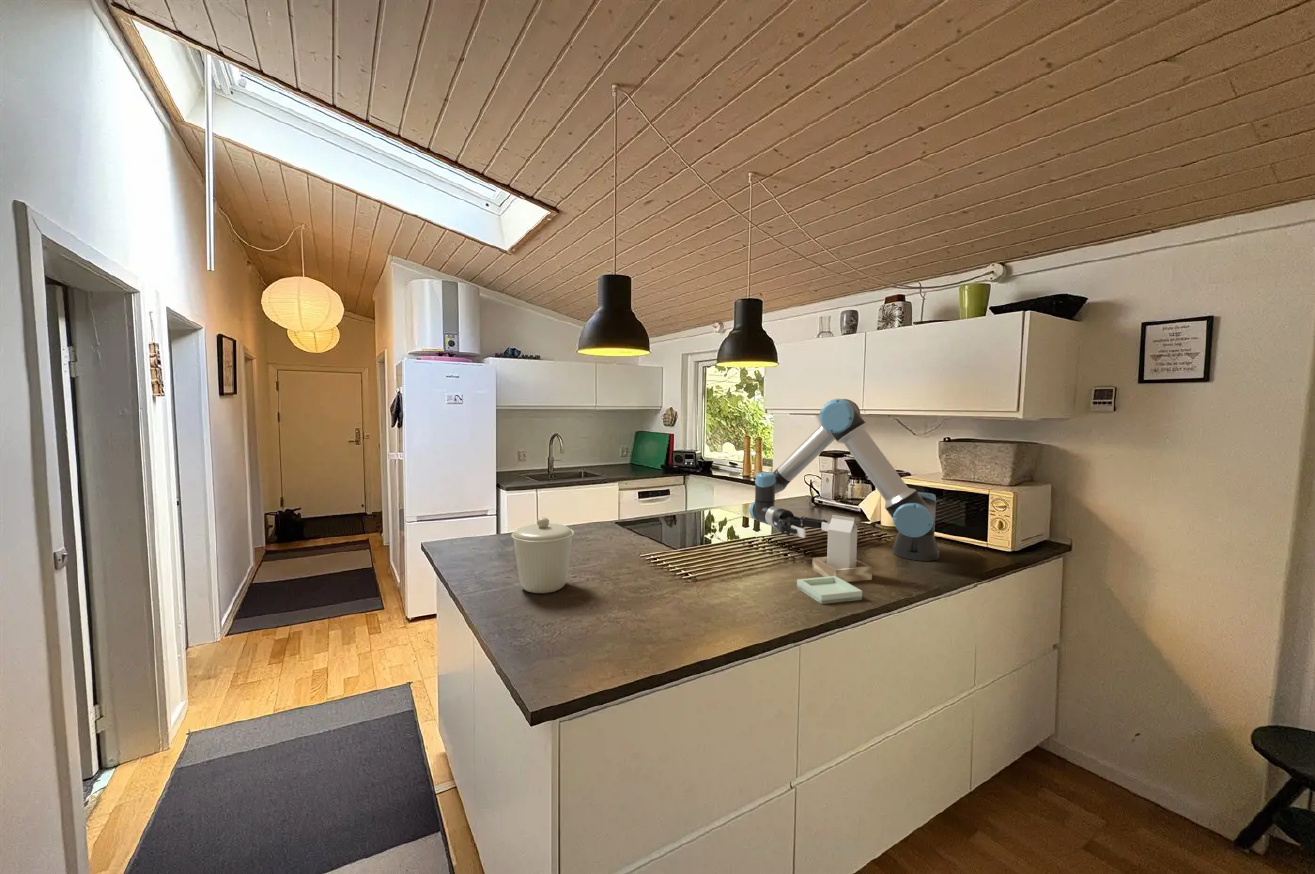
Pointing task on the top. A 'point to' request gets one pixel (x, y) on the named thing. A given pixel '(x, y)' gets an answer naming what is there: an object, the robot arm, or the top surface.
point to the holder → (843, 570)
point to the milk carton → (842, 542)
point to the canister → (543, 555)
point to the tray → (829, 589)
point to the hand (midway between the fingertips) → (820, 531)
